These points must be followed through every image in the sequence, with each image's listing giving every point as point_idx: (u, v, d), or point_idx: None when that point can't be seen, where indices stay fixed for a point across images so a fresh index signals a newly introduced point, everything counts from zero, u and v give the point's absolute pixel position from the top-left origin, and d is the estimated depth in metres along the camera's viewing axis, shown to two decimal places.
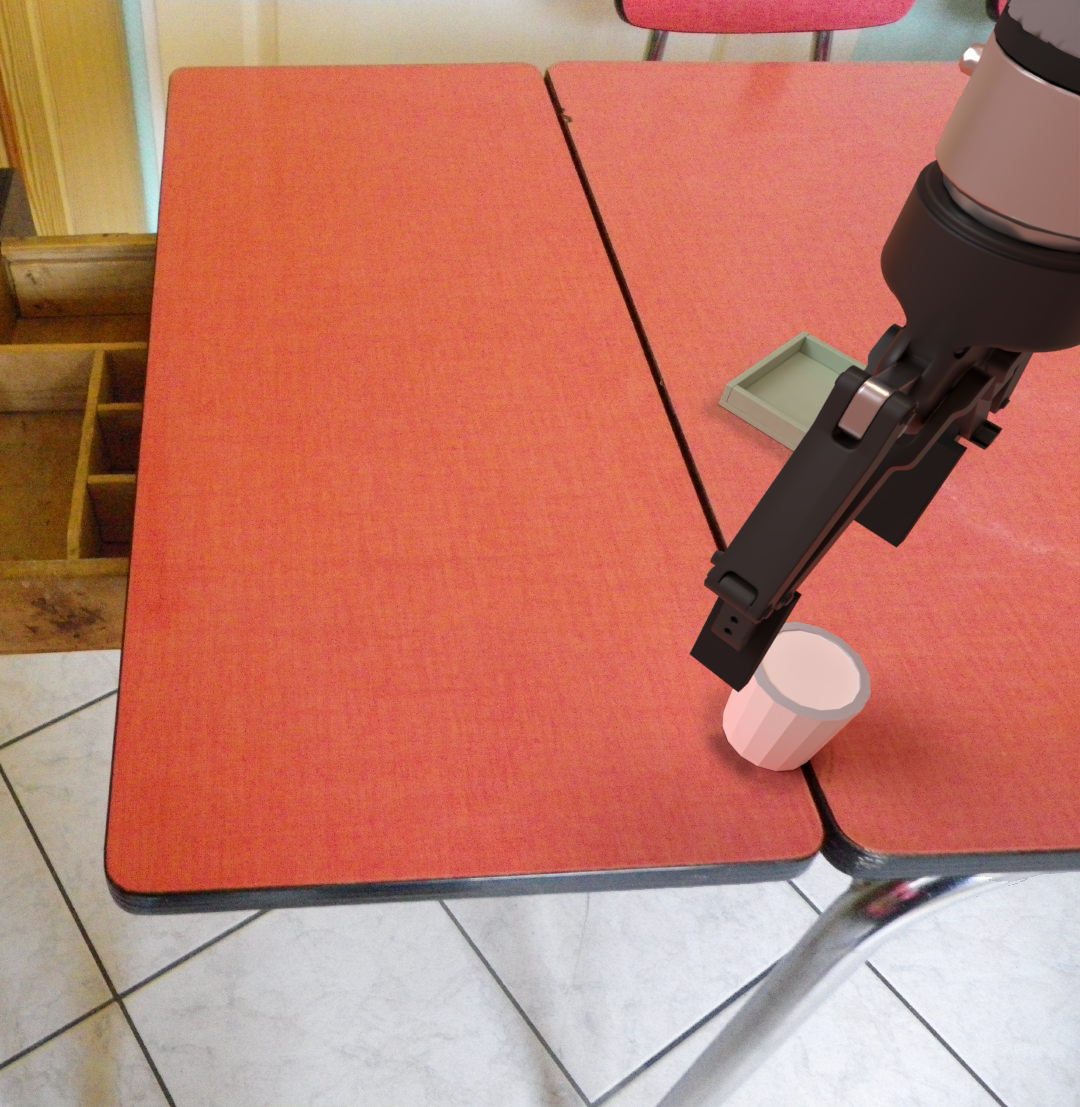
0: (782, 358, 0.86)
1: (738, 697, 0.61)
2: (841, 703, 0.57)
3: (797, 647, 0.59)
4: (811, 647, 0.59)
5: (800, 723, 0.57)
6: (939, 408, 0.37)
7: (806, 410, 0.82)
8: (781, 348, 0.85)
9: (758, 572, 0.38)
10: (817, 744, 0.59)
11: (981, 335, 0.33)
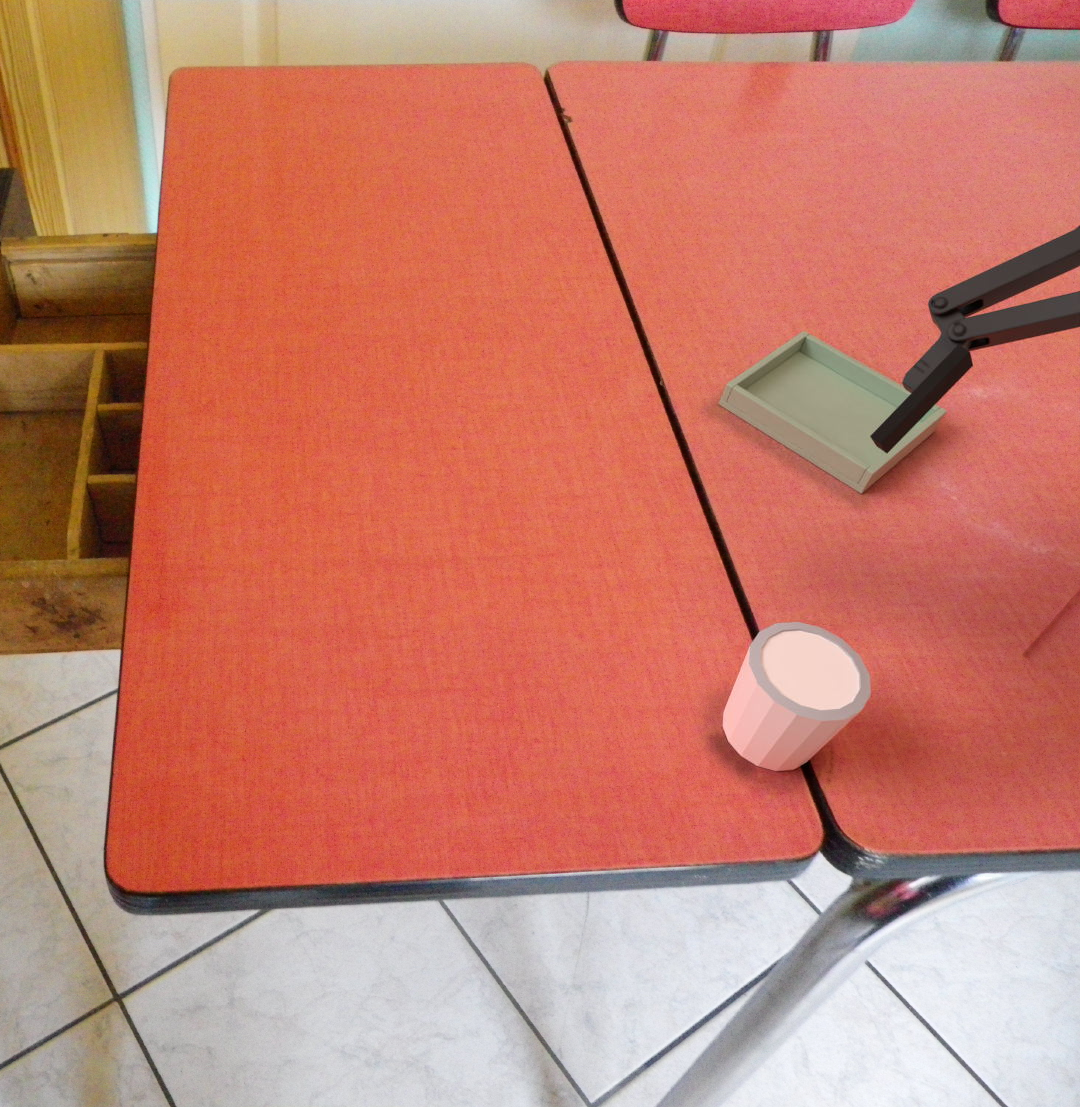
0: (782, 358, 0.86)
1: (738, 697, 0.61)
2: (841, 703, 0.57)
3: (797, 647, 0.59)
4: (811, 647, 0.59)
5: (800, 723, 0.57)
6: None
7: (806, 410, 0.82)
8: (781, 348, 0.85)
9: None
10: (817, 744, 0.59)
11: None
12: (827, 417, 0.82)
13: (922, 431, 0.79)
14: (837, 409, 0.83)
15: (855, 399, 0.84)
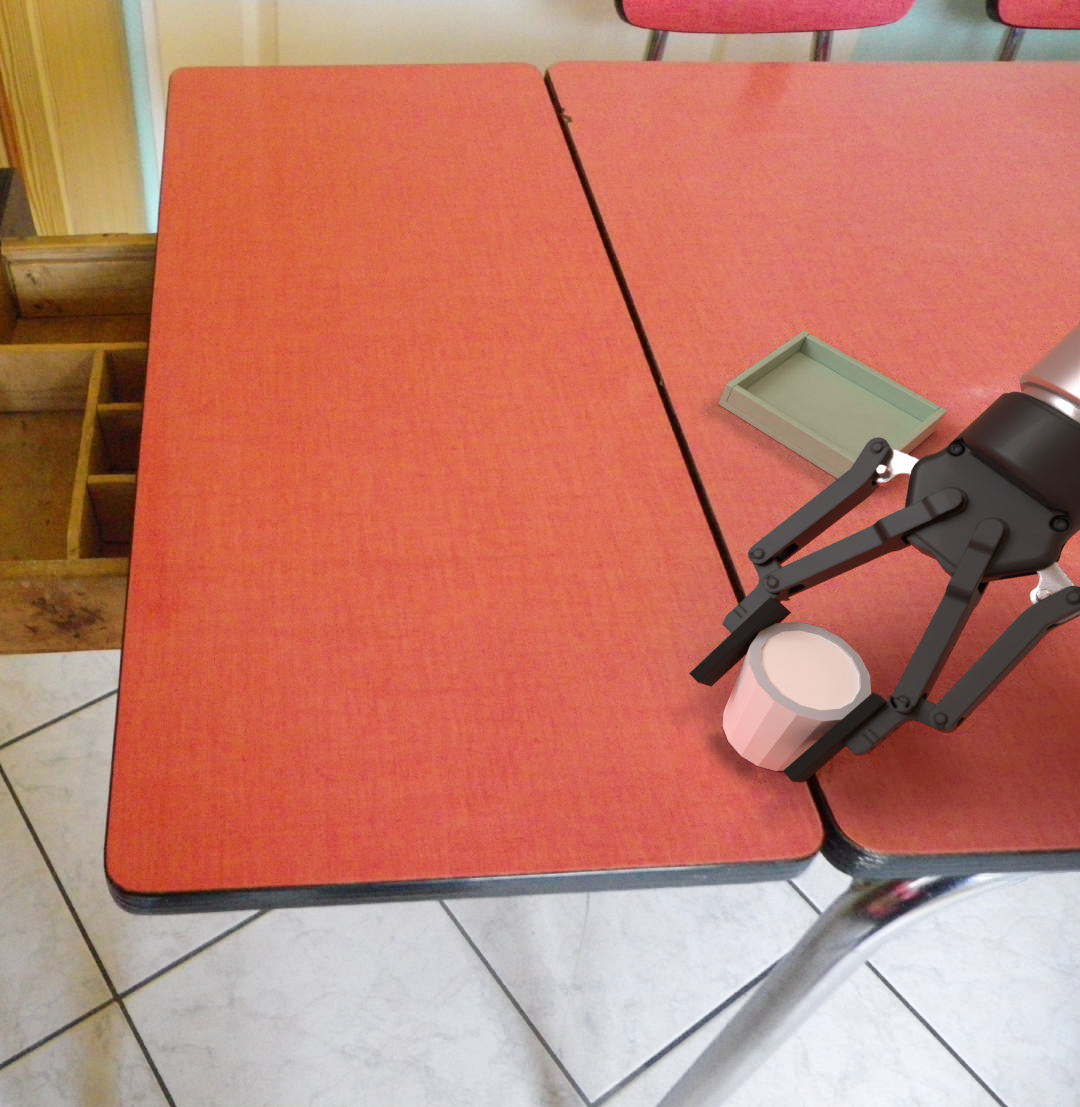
0: (782, 358, 0.86)
1: (738, 697, 0.61)
2: (841, 703, 0.57)
3: (797, 647, 0.59)
4: (811, 647, 0.59)
5: (800, 723, 0.57)
6: (922, 493, 0.55)
7: (806, 410, 0.82)
8: (781, 348, 0.85)
9: None
10: None
11: (962, 432, 0.55)
12: (827, 417, 0.82)
13: (922, 431, 0.79)
14: (837, 409, 0.83)
15: (855, 399, 0.84)
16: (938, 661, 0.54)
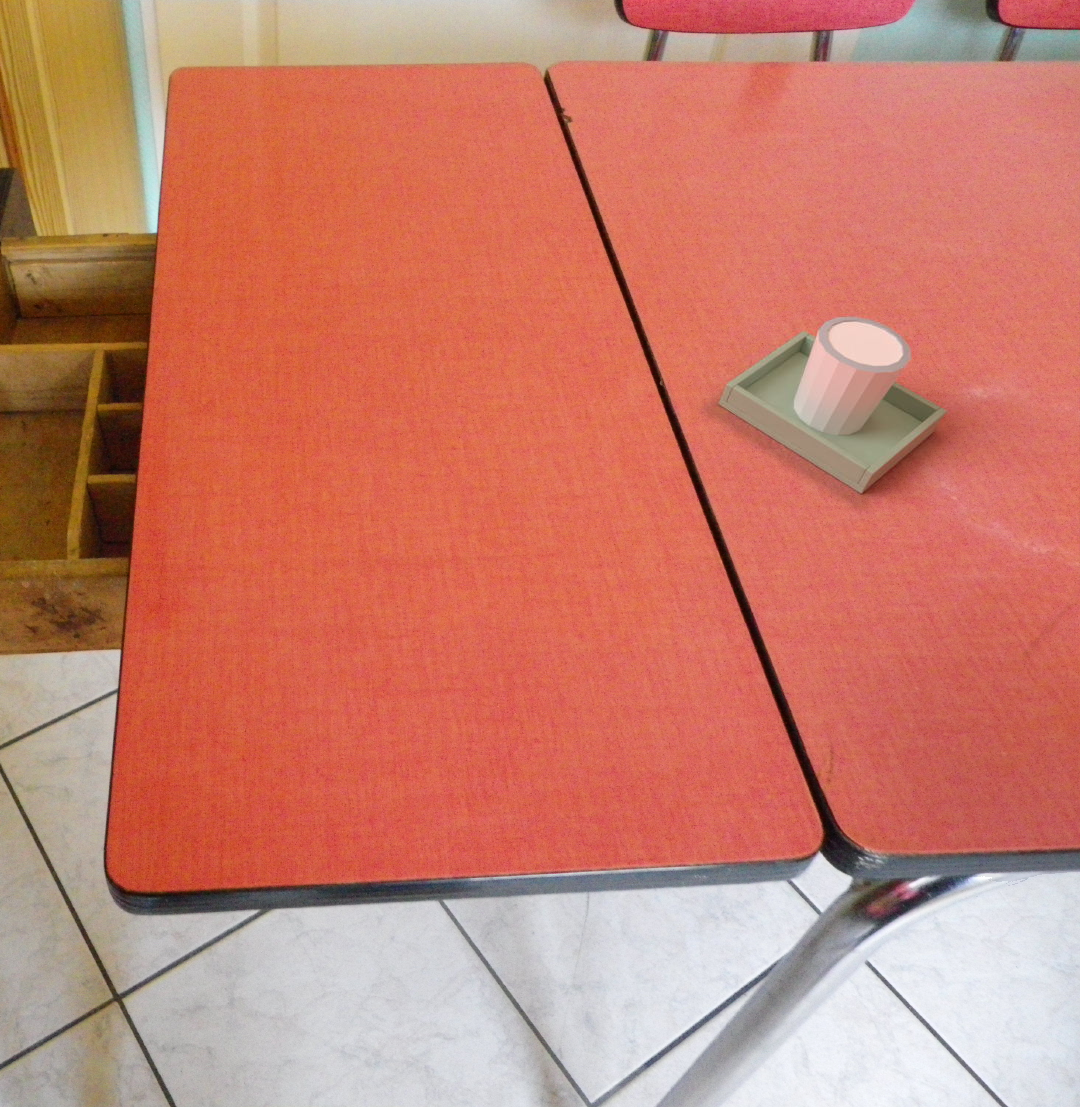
0: (782, 358, 0.86)
1: (808, 374, 0.79)
2: (889, 363, 0.76)
3: (854, 331, 0.78)
4: (865, 331, 0.78)
5: (858, 378, 0.76)
6: None
7: None
8: (781, 348, 0.85)
9: None
10: (870, 402, 0.78)
11: None
12: None
13: (922, 431, 0.79)
14: None
15: None
16: None
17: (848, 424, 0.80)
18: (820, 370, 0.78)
